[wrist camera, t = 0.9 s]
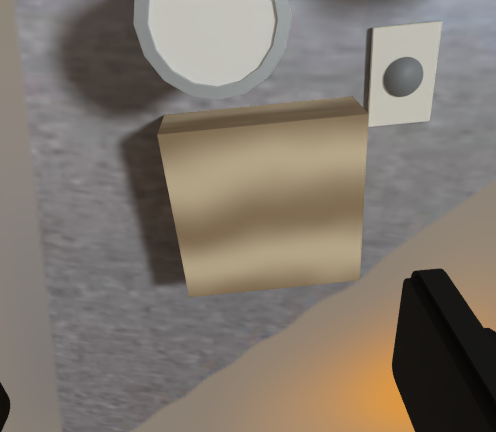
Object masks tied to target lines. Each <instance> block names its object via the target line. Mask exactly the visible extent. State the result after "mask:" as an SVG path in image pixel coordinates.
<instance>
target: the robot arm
mask: <svg viewBox="0 0 496 432" xmlns="http://www.w3.org/2000/svg"><path fill="white" fill-rule="evenodd" d="M394 346H395V347H394V353H393V360H392V370H393V375H394V379H395V382H396V385H397V387H398V390H399V392H400V395H401V397H402V400H403V402H404V404H405V407H406V410H407V412H408V415H409V417H410V420H411V423H412V425H413V427H414V430H415V432H496V332H495V331H493V330H492V329H490V328H483V326H482V325H481V323H480V322H479V320H478V319H477V318H476V316H475V315H474V313H473V312H472V310H471V309H470V307H469V306H468V304H467V303H466V301H465V300H464V298H463V297H462V295H461V294H460V292H459V291H458V289H457V288H456V287H455V285H454V284H453V282H452V281H451V279H450V278H449V276H448V275H447V273H446V272H445V271H444V270H443V269H430V270H419V271H414V272H413V273H412V275H411V278H407V279H405V280H404V282H403V288H402V295H401V303H400V310H399V317H398V324H397V332H396V339H395V345H394ZM9 411H10V399H9V397H8V395H7V393H6V392H5V390H4V388H3V386H2V384H1V383H0V432H1V431H2V429H3V426H4V424H5V422H6V420H7V418H8V415H9Z"/></svg>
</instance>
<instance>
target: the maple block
mask: <svg viewBox="0 0 496 432" xmlns="http://www.w3.org/2000/svg"><path fill="white" fill-rule="evenodd" d="M368 115H369V114H368V113H367V112H366V111H365V109H364V108H363V107H362V106H361V105H360V104H359V103H358V102H357V101H356V100H355V98H354V97H353V96H351V97H341V98H331V99H321V100H311V101H300V102H290V103H280V104H270V105H259V106H249V107H239V108H229V109H219V110H208V111H198V112H188V113H178V114H168V115H164V117H163V120H162V123H161V125H160V128H159V131H158V134H157V136H158V142H159V147H160V152H161V157H162V162H163V167H164V172H165V177H166V182H167V187H168V192H169V197H170V202H171V207H172V212H173V217H174V222H175V227H176V232H177V237H178V242H179V248H180V253H181V258H182V263H183V268H184V273H185V278H186V283H187V288H188V293H189V297H194V296H205V295H215V294H225V293H235V292H245V291H256V290H266V289H276V288H286V287H296V286H306V285H317V284H327V283H337V282H347V281H357V280H360V262H361V244H362V226H363V207H364V189H365V170H366V152H367V133H368Z"/></svg>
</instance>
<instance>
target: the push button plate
mask: <svg viewBox="0 0 496 432" xmlns="http://www.w3.org/2000/svg"><path fill="white" fill-rule="evenodd" d="M441 28H442V21H432V22H422V23H411V24H401V25H391V26H381V27H372V41H371V60H370V79H369V98H368V114H369V115H368V127H372V126H383V125H393V124H403V123H413V122H424V121H430V114H431V106H432V98H433V90H434V83H435V75H436V67H437V59H438V51H439V43H440V35H441Z"/></svg>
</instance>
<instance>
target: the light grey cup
mask: <svg viewBox="0 0 496 432" xmlns="http://www.w3.org/2000/svg"><path fill="white" fill-rule="evenodd" d="M291 21H292V15H291V9H290V3H289V0H134V27H135V30H136V33H137V36H138V39H139V42H140V45H141V48H142V51H143V54H144V56H145V58H146V59H147V60H148V61H149V63H150V64H151V65H152V66H153V68H154V69H155V70H156V71H157V73H158V74H159V75H160V76H161V78H162V79H163V80H164V81H166V82H167V83H169V84H171V85H173V86H174V87H176V88H178V89H179V90H181V91H183V92H184V93H186V94H188V95H189V96H196V97H202V98H209V99H215V100H220V99H224V98H228V97H232V96H237V95H241V94H245V93H247V92H248V91H249V90H251V89H252V88H254V87H255V86H256V85H258V84H259V83H261V82H262V81H263V80H265V79H266V78H268V77H269V76H270V74H271V73H272V71H273V69H274V68H275V66H276V65H277V63H278V62H279V60H280V58H281V57H282V55H283V54H284V52H285V51H286V46H287V41H288V36H289V31H290V26H291Z"/></svg>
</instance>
